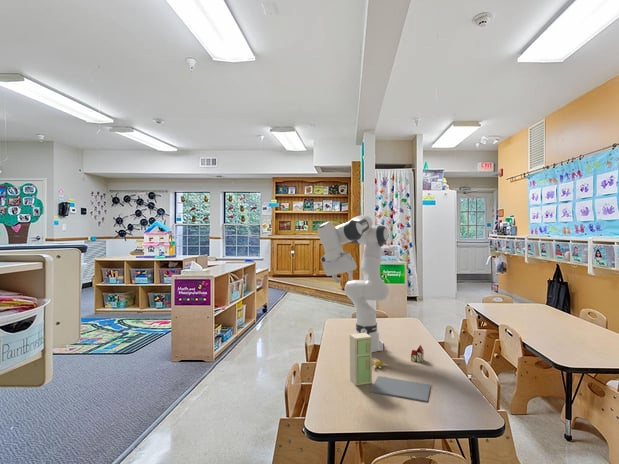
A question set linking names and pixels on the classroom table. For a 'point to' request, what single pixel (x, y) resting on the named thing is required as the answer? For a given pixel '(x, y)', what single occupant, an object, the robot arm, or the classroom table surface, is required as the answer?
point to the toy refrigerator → (360, 359)
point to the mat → (401, 388)
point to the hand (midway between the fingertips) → (344, 281)
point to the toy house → (417, 354)
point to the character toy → (377, 363)
